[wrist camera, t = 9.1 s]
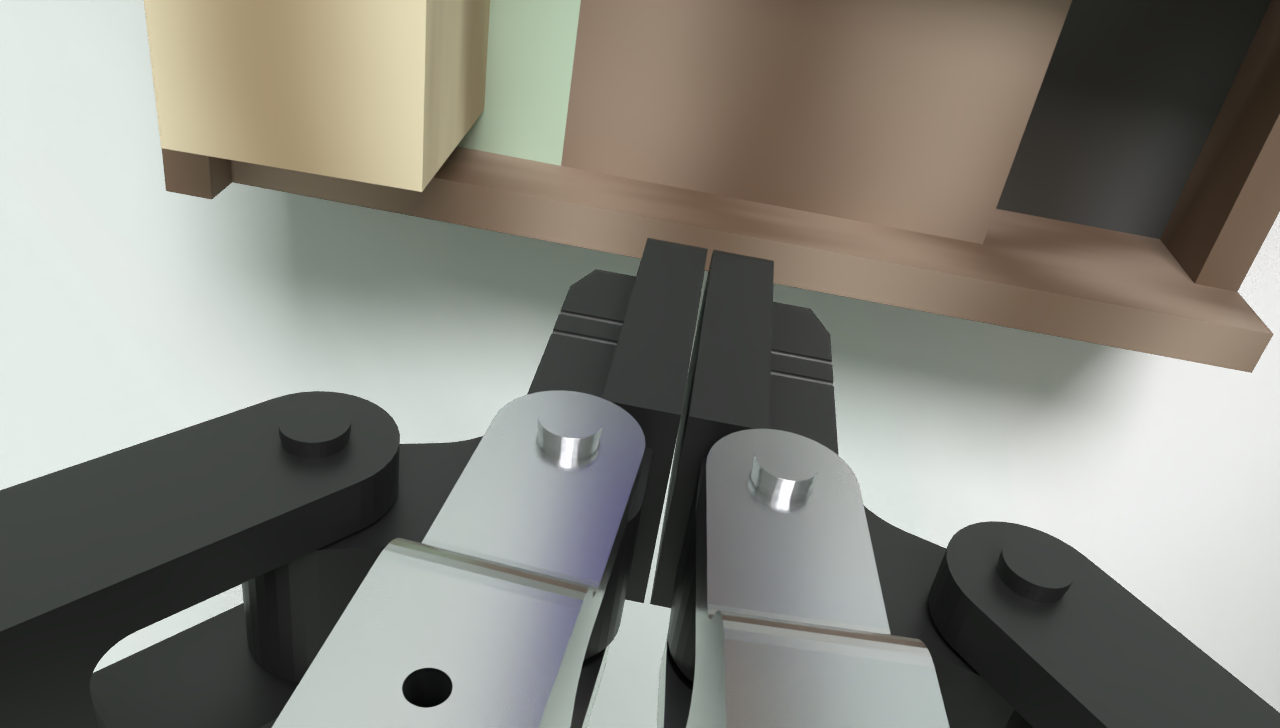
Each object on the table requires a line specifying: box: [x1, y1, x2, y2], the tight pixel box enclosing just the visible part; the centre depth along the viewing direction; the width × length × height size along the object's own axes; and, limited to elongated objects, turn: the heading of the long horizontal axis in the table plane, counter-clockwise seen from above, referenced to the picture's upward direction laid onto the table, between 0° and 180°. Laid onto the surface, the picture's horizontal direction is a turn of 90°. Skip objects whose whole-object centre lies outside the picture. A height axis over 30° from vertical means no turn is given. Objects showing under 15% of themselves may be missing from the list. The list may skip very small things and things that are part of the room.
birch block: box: [144, 0, 490, 192], centre depth 20 cm, size 5×5×5 cm
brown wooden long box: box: [162, 0, 1280, 373], centre depth 22 cm, size 24×9×6 cm, turn 81°
